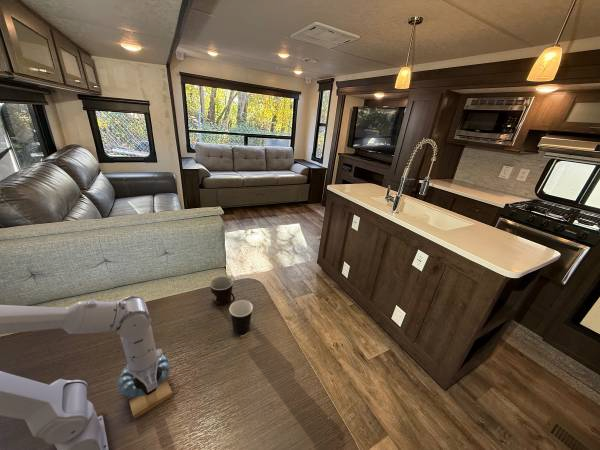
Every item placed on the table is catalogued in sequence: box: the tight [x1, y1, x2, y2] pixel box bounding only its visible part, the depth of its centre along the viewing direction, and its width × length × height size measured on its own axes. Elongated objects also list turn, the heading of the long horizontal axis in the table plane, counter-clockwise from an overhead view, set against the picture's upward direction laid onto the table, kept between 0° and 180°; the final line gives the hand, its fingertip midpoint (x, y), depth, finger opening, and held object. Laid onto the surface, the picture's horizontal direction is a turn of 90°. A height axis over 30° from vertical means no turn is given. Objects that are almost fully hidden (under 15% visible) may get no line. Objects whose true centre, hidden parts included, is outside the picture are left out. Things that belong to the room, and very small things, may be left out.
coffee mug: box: [209, 275, 236, 307], centre depth 97 cm, size 12×9×10 cm
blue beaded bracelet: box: [117, 354, 171, 398], centre depth 64 cm, size 11×11×3 cm
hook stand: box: [128, 378, 173, 420], centre depth 66 cm, size 9×9×6 cm
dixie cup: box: [228, 299, 254, 338], centre depth 86 cm, size 8×8×11 cm
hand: (149, 385), depth 61 cm, fingers closed on blue beaded bracelet, 3 cm apart
